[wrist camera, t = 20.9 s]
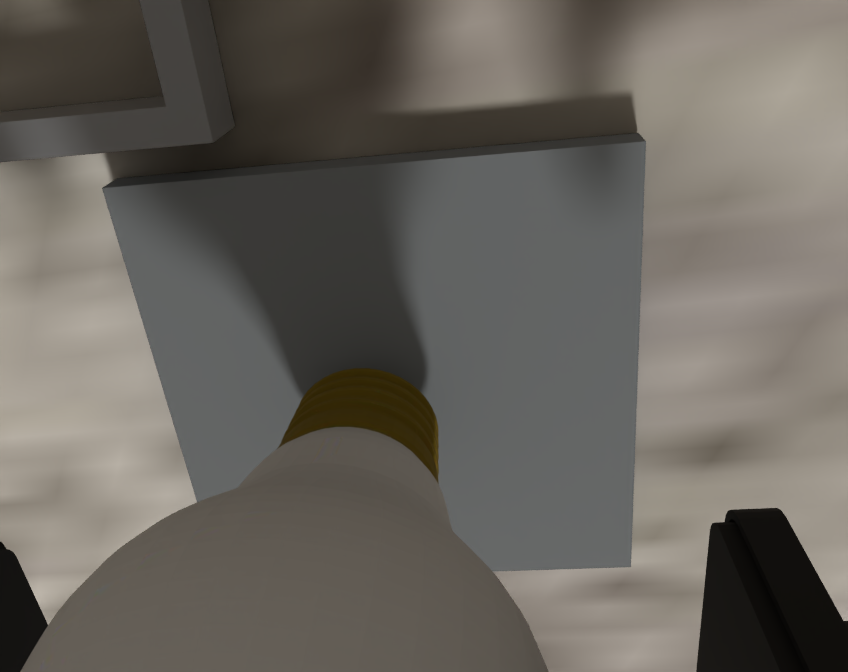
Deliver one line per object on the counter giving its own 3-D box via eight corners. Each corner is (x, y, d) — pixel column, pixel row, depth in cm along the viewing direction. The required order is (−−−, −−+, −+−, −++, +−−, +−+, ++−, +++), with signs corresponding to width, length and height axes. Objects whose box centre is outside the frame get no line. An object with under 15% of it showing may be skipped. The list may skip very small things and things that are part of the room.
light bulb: (543, 271, 13) (689, 1008, 4) (512, 532, 16) (558, 1307, 7) (204, 252, 13) (-370, 906, 4) (233, 512, 16) (-77, 1235, 7)
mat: (638, 133, 12) (646, 141, 12) (625, 547, 16) (630, 567, 16) (117, 178, 13) (101, 188, 13) (228, 560, 17) (220, 580, 17)
